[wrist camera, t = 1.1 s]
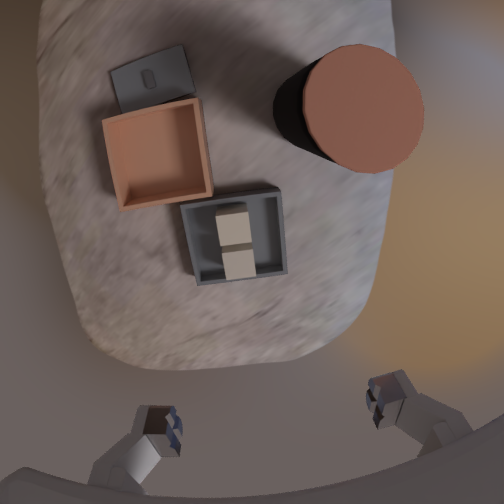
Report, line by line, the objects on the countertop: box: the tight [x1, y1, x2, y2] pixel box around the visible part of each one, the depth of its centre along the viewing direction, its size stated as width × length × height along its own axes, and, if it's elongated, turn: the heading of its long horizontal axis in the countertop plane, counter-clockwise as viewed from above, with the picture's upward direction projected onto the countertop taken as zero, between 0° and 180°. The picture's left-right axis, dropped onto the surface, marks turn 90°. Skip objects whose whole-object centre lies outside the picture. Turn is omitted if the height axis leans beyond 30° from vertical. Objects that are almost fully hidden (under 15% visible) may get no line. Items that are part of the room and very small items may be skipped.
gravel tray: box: [180, 187, 288, 286], centre depth 42 cm, size 12×13×2 cm
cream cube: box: [215, 203, 252, 246], centre depth 39 cm, size 4×4×4 cm
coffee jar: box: [273, 44, 424, 174], centre depth 28 cm, size 11×11×18 cm
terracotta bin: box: [102, 98, 214, 212], centre depth 35 cm, size 12×12×4 cm
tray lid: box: [111, 44, 196, 114], centre depth 32 cm, size 7×10×2 cm
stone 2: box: [222, 242, 256, 280], centre depth 41 cm, size 4×4×4 cm
